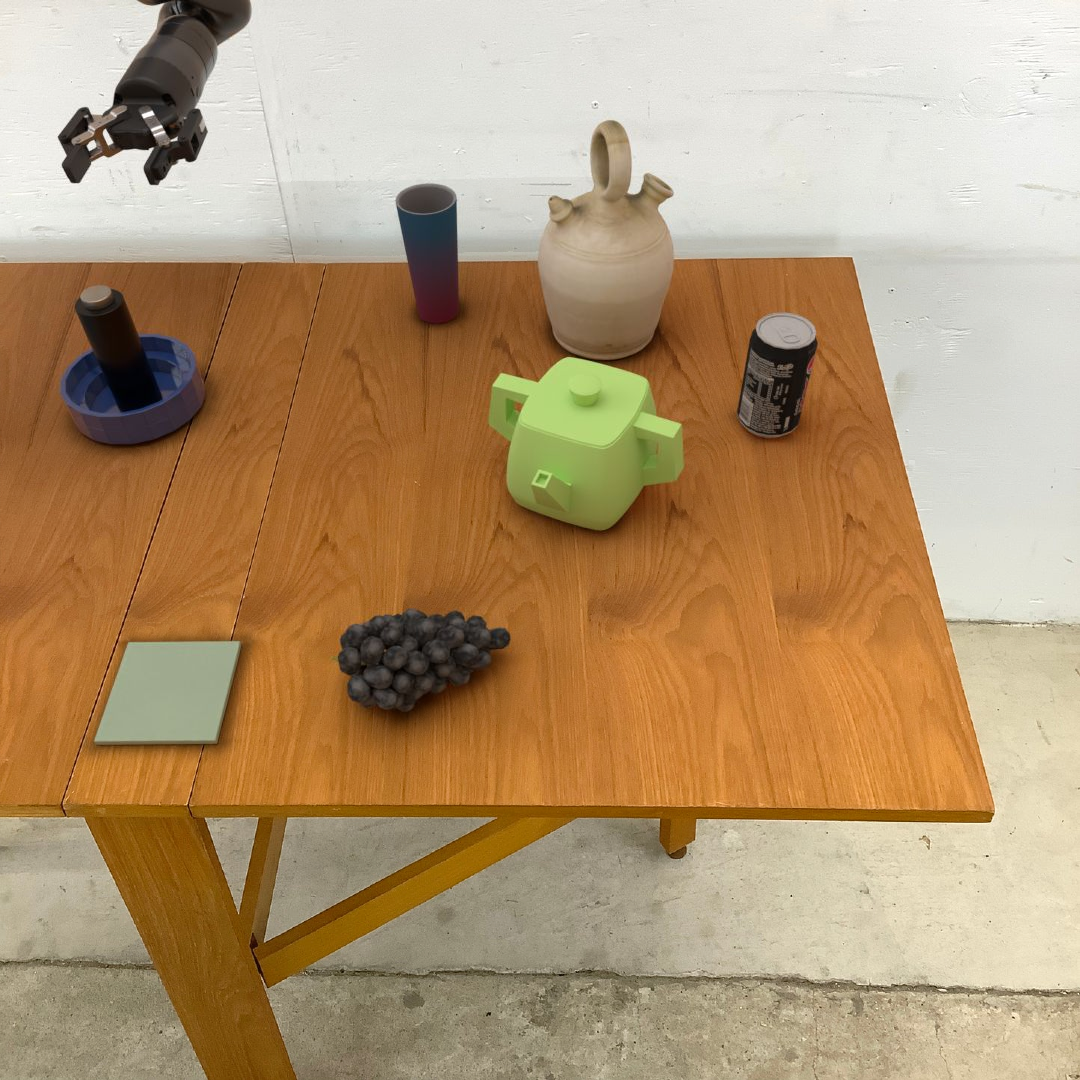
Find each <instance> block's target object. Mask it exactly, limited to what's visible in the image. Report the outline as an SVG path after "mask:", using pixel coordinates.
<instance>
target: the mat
mask: <svg viewBox="0 0 1080 1080" xmlns="http://www.w3.org/2000/svg"><path fill="white" fill-rule="evenodd" d="M242 646H243V645H242V641H240V640H224V641H221V640H219V641H218V640H215V641H206V640H205V641H128V642H127V645H126V647H125V650H124V653H123V656H122V660H121V662H120V665H119V667H118V670H117V674H116V676H115V679H114V682H113V684H112V688H111V691H110V694H109V696H108V699H107V702H106V705H105V708H104V710H103V714H102V717H101V720H100V723H99V725H98V729H97V731H96V734H95V737H94V740H93V743H94V744H95V745H96V746H101V745H102V746H103V745H105V746H107V745H108V746H113V745H116V746H117V745H122V746H123V745H127V746H128V745H217V744H218V741H219V737H220V734H221V730H222V725H223V721H224V717H225V714H226V710H227V705H228V702H229V697H230V693H231V689H232V685H233V682H234V677H235V674H236V670H237V666H238V661H239V658H240V654H241V649H242Z"/></svg>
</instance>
